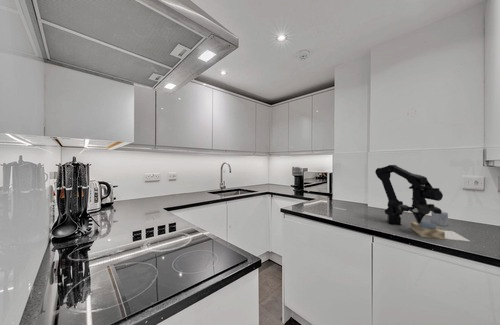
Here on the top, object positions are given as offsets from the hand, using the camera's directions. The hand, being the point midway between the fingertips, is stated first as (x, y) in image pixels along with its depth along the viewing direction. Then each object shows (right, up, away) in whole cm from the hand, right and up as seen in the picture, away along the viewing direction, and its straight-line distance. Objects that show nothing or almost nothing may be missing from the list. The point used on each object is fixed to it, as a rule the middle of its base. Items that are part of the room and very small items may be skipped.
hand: (418, 223), depth 113 cm
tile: (+4, -2, -1) cm, 4 cm away
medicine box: (+26, -5, +14) cm, 30 cm away
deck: (+4, -6, -1) cm, 7 cm away
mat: (+13, -6, -5) cm, 15 cm away
